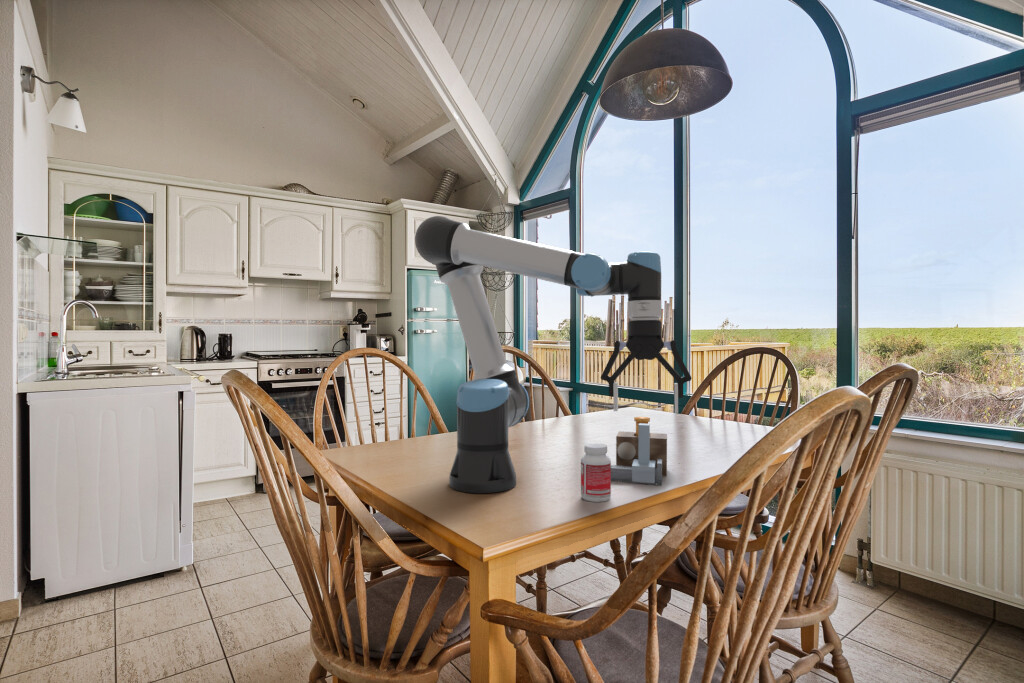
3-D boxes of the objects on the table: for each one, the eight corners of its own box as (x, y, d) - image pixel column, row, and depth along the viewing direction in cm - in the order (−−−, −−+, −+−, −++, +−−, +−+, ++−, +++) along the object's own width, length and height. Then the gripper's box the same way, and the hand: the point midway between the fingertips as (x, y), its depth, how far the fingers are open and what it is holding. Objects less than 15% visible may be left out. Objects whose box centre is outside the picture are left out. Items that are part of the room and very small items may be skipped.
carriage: (631, 482, 123) (632, 426, 122) (633, 474, 129) (634, 421, 129) (654, 484, 121) (654, 427, 121) (655, 476, 128) (655, 422, 127)
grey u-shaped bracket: (586, 479, 126) (586, 458, 126) (589, 474, 131) (589, 454, 131) (661, 485, 122) (661, 463, 121) (662, 480, 126) (662, 458, 126)
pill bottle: (616, 499, 111) (617, 446, 111) (594, 504, 108) (594, 449, 108) (596, 492, 117) (596, 441, 116) (574, 496, 113) (574, 444, 113)
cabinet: (616, 472, 133) (616, 436, 133) (618, 465, 140) (618, 431, 140) (666, 476, 130) (666, 439, 130) (666, 469, 137) (667, 433, 136)
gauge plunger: (633, 446, 134) (633, 418, 134) (634, 443, 137) (634, 416, 137) (649, 446, 133) (649, 419, 132) (650, 443, 136) (650, 417, 136)
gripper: (588, 320, 125) (589, 412, 125) (702, 318, 117) (703, 415, 118) (593, 321, 132) (593, 407, 132) (701, 319, 125) (701, 410, 125)
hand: (645, 411), depth 125 cm, fingers open, 13 cm apart
